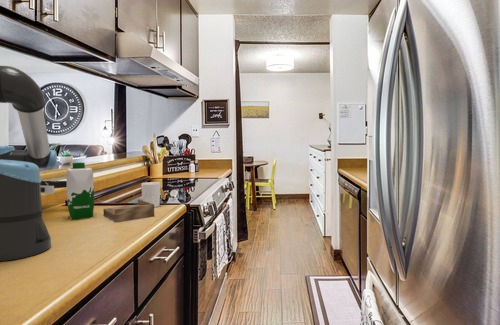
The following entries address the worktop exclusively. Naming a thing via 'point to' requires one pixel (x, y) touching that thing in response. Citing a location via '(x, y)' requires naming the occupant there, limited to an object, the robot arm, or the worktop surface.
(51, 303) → the worktop surface
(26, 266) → the worktop surface
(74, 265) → the worktop surface
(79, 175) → the white two-tone container
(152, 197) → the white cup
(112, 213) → the wooden tray
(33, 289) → the worktop surface
